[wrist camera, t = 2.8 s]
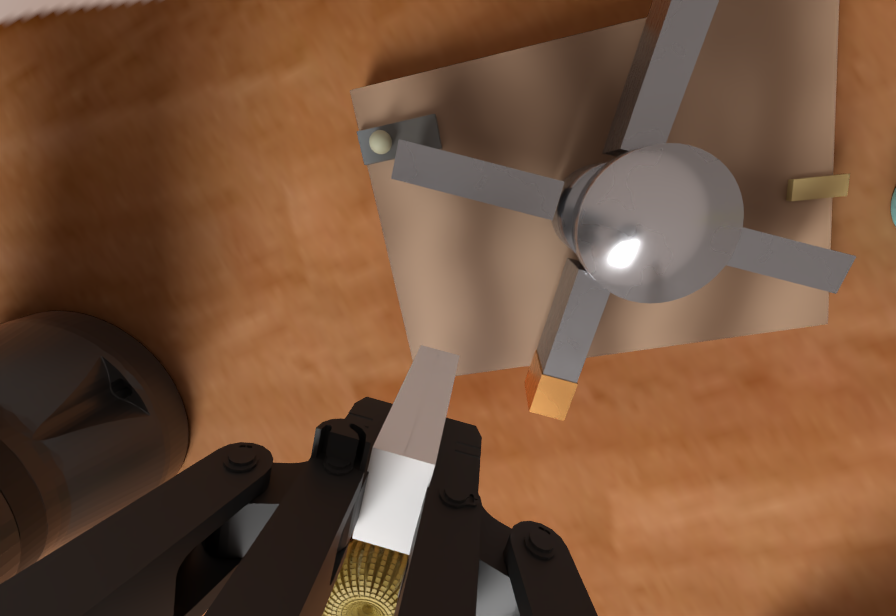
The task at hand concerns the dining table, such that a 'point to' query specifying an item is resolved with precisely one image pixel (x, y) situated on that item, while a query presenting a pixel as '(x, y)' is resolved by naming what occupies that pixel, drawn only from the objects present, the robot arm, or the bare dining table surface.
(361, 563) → the sculpture
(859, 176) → the dining table surface
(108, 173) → the dining table surface
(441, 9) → the dining table surface
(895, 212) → the cupcake
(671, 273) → the capstan
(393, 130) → the stand
